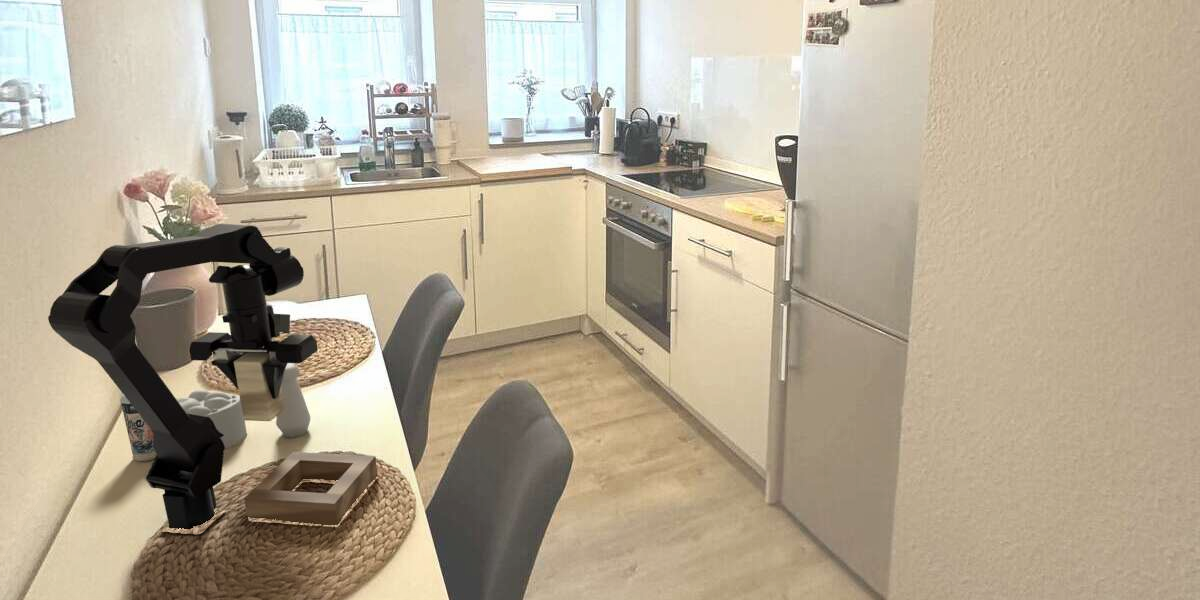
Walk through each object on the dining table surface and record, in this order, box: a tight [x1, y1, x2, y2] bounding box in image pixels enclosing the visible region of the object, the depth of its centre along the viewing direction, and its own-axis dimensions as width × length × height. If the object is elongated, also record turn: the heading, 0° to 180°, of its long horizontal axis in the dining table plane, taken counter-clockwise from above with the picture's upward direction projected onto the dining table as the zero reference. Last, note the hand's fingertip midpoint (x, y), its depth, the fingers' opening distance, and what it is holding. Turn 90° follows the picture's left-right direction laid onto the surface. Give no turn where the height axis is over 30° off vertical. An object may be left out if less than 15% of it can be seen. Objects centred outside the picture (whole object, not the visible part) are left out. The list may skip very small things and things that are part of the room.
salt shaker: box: [275, 363, 311, 438], centre depth 143 cm, size 6×6×13 cm
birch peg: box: [234, 353, 285, 422], centre depth 128 cm, size 4×4×10 cm
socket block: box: [243, 451, 379, 525], centre depth 122 cm, size 14×14×4 cm
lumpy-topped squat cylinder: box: [175, 389, 248, 450], centre depth 141 cm, size 10×13×9 cm
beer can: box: [119, 392, 157, 462], centre depth 136 cm, size 5×5×12 cm
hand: (261, 397), depth 128 cm, fingers closed on birch peg, 4 cm apart
